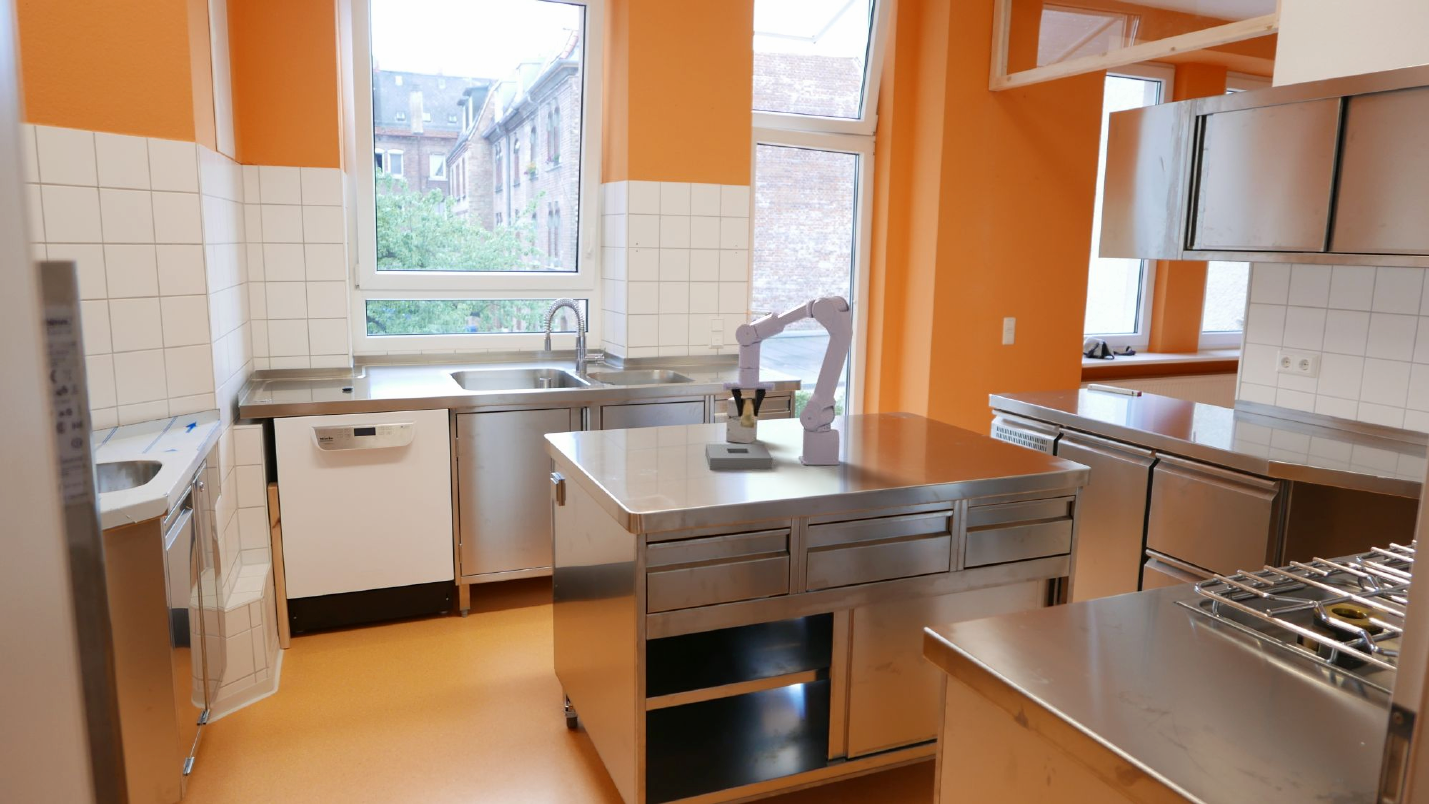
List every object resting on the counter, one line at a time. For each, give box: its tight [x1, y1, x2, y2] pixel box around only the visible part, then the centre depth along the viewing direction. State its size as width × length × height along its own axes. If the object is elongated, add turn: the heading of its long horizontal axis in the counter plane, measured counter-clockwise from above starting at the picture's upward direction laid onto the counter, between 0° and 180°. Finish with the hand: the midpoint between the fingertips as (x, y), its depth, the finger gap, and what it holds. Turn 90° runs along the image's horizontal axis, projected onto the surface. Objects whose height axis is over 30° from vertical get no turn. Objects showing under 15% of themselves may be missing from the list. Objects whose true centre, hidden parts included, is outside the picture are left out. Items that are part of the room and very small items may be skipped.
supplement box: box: [725, 396, 758, 444], centre depth 265 cm, size 7×7×13 cm
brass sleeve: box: [740, 396, 755, 428], centre depth 252 cm, size 4×4×8 cm
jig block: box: [704, 443, 773, 471], centre depth 240 cm, size 16×16×3 cm
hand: (747, 415), depth 252 cm, fingers closed on brass sleeve, 4 cm apart
